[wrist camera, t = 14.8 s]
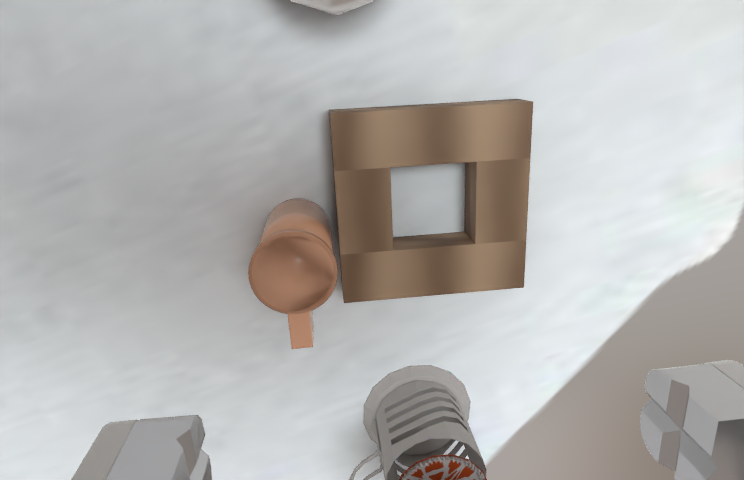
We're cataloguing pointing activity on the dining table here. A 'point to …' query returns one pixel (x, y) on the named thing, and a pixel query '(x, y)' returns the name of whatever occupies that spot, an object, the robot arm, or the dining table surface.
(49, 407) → the dining table surface
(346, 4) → the potion bottle
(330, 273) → the copper mug
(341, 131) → the holder
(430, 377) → the french press
